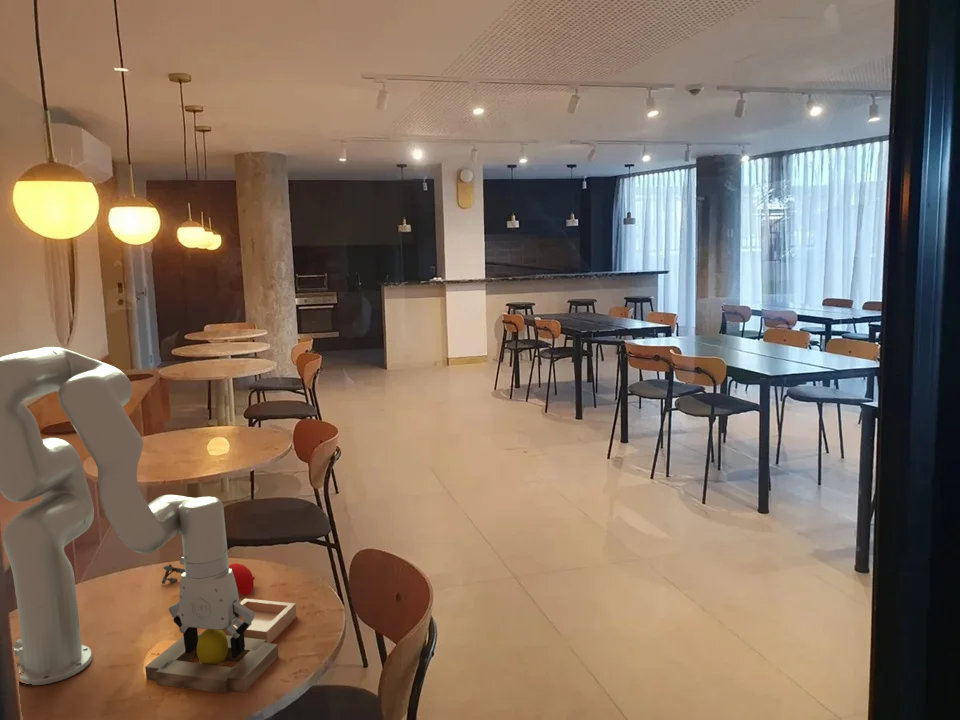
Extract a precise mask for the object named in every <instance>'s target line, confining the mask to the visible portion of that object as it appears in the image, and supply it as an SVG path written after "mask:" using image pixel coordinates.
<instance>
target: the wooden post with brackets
mask: <svg viewBox="0 0 960 720" xmlns="http://www.w3.org/2000/svg"><path fill="white" fill-rule="evenodd" d="M163 569H164V570H165V573H164V576H163V577H162V581H161V584H163V585H164V584H165V583H166V582H167V581H168V582H169V583H176V582H178V581H177V580H178V578H176V577H172V576H170V575H171V574H172V573H174V572H175V573H176V574H177V573H179V574H183V573H184V572H185V568H181V567H178V566H177V567H173V565H172V564H168V565H164V566H163ZM169 576H170V577H169Z"/></svg>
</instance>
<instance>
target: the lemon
mask: <svg viewBox="0 0 960 720" xmlns="http://www.w3.org/2000/svg"><path fill="white" fill-rule="evenodd" d="M201 633H202V634H201ZM201 633H200V634H201V635H200V634H199V635H200V637H199V639H198V643H197V657H198V661H199V662H200V663H201V664H209V665H217V666H220V665H221V664H222V663H223V662H224V661H225V660H226V659H225V658H226V656H227V653H228V641H227V637H226V635H225V633H224V632H223V631H222V630H211V629H204V631H202V632H201Z"/></svg>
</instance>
